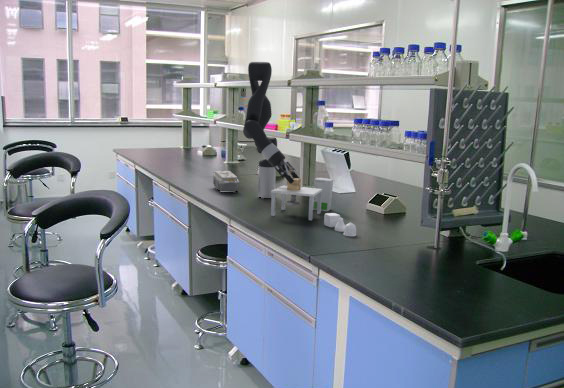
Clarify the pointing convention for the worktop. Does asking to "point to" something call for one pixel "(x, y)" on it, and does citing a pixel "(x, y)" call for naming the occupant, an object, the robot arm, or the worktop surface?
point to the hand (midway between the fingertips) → (295, 181)
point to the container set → (339, 224)
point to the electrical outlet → (225, 181)
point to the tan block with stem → (295, 186)
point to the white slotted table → (303, 192)
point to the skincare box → (323, 193)
